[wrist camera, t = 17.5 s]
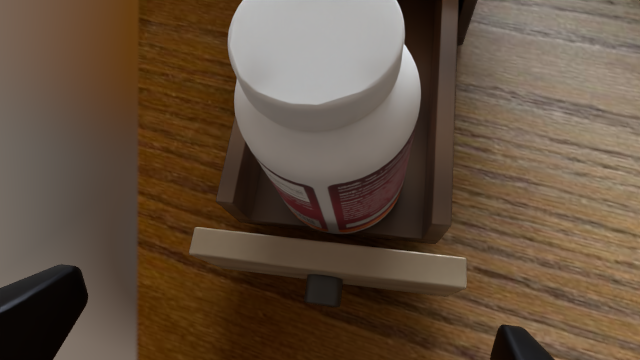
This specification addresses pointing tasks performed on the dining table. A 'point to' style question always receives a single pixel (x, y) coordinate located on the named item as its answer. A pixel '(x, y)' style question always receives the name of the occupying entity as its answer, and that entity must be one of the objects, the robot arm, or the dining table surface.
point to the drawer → (399, 224)
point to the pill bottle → (327, 104)
